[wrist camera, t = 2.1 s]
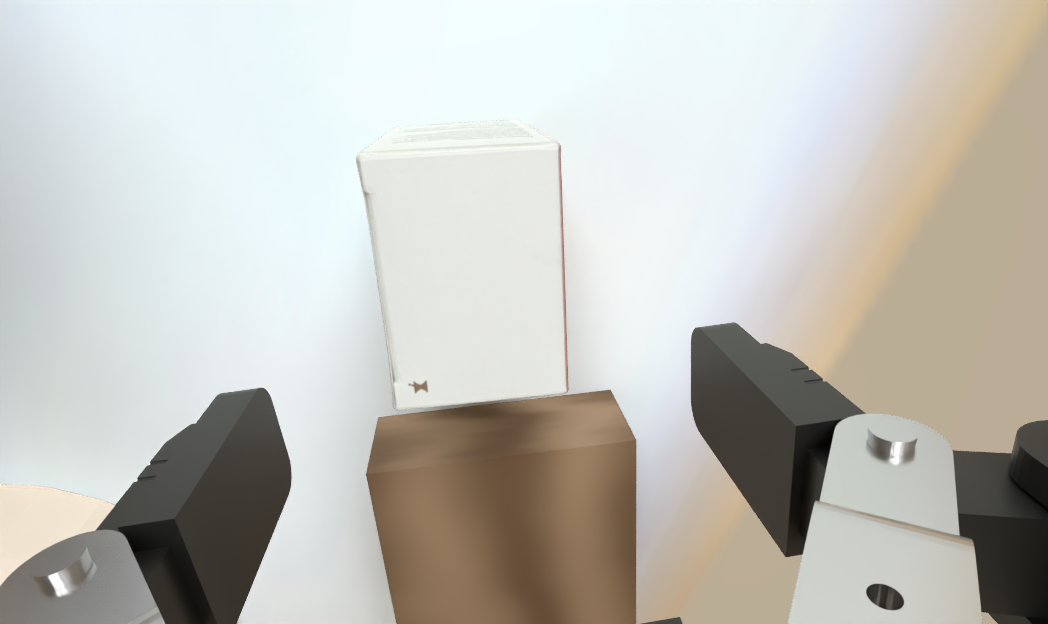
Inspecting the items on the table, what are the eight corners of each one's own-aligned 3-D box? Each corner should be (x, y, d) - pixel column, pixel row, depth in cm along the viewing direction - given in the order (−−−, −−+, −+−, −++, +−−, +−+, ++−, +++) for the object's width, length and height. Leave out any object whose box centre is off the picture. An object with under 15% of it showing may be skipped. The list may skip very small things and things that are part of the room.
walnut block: (411, 589, 35) (405, 668, 30) (379, 414, 30) (366, 474, 26) (612, 561, 36) (635, 633, 31) (609, 386, 31) (636, 440, 27)
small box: (530, 291, 29) (571, 401, 19) (412, 300, 28) (392, 419, 18) (522, 115, 26) (566, 139, 16) (390, 123, 25) (352, 152, 15)
